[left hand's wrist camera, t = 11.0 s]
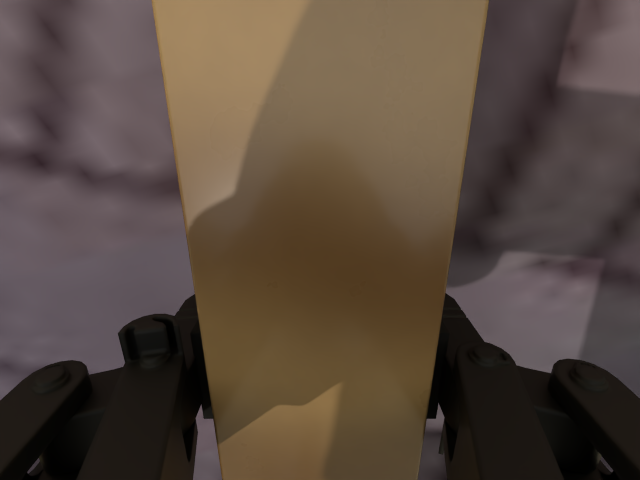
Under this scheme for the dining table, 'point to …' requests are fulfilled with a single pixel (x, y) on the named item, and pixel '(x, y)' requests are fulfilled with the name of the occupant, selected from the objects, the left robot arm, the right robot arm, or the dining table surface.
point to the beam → (320, 218)
